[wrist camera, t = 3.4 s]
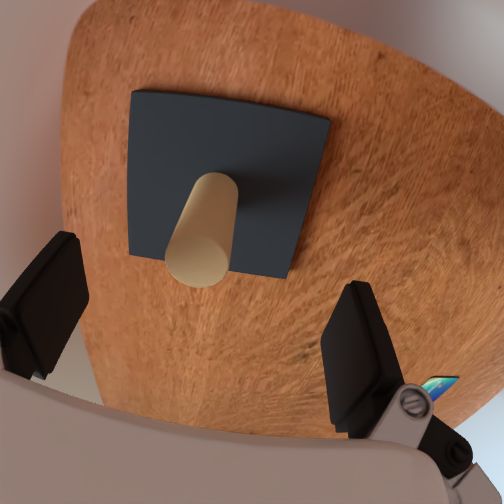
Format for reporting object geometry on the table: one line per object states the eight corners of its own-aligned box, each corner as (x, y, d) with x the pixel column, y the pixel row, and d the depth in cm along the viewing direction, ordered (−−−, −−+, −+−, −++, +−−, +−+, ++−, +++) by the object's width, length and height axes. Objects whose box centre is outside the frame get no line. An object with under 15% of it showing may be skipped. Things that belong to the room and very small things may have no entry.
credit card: (418, 413, 34) (418, 413, 34) (389, 414, 33) (389, 414, 33) (459, 377, 29) (459, 378, 29) (431, 377, 28) (431, 377, 28)
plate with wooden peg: (132, 247, 19) (92, 327, 14) (136, 89, 14) (65, 115, 8) (285, 271, 20) (294, 360, 15) (328, 117, 15) (374, 159, 9)
